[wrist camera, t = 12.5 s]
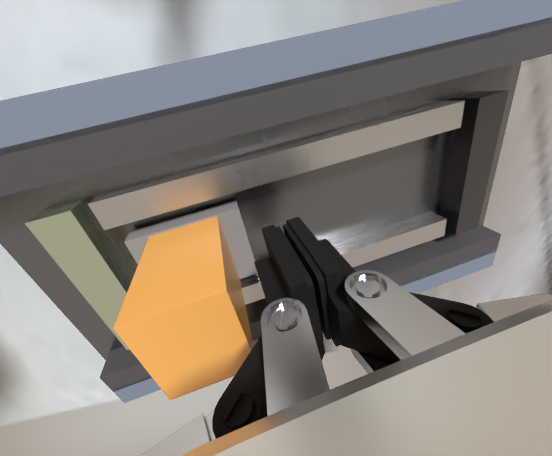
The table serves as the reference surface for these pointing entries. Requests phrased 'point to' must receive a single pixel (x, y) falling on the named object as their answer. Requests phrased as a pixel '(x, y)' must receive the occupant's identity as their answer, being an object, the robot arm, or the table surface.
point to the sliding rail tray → (270, 117)
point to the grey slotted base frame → (274, 192)
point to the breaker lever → (189, 299)
